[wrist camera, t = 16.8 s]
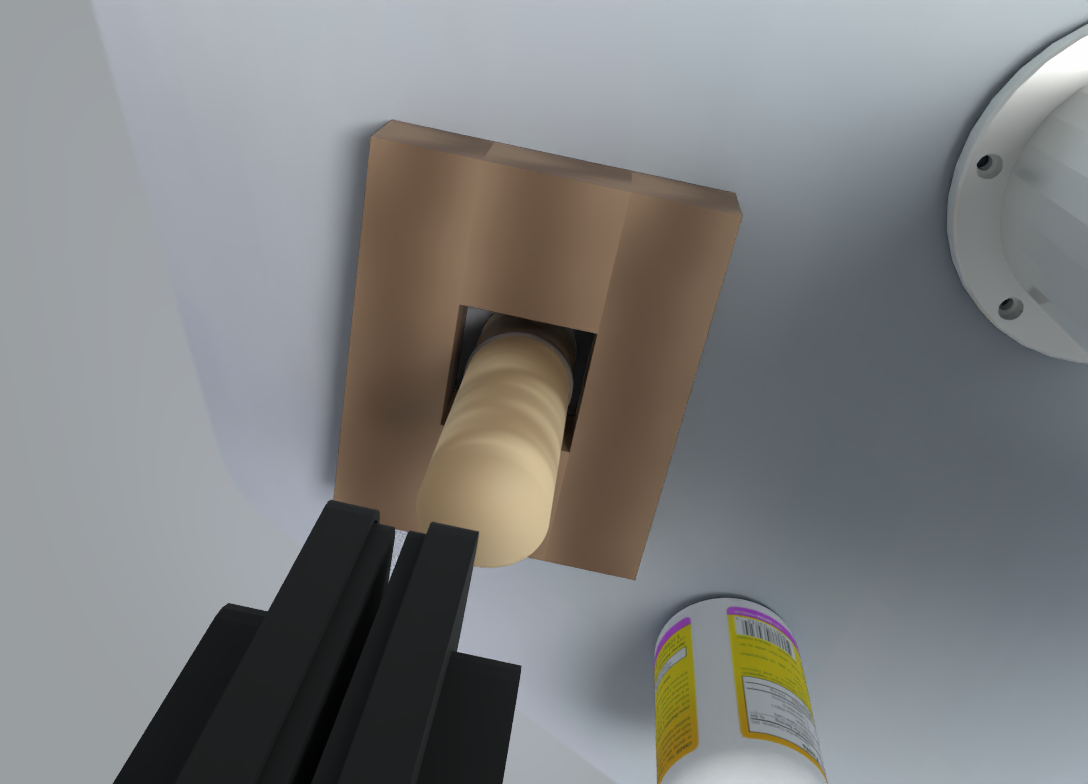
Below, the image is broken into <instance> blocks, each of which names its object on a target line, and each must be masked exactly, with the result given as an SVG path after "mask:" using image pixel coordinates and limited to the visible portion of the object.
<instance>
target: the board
mask: <svg viewBox="0 0 1088 784" xmlns="http://www.w3.org/2000/svg"><path fill="white" fill-rule="evenodd" d="M741 219H742V213H741V210H740V207H739V203H738V200H737V197H736V194H735V193H733V192H728V191H723V190H718V189H714V188H709V187H704V186H700V185H695V184H690V183H686V182H681V181H676V180H672V179H667V178H662V177H658V176H653V175H648V174H644V173H639V172H634V171H630V170H625V169H620V168H616V167H611V166H606V165H601V164H597V163H592V162H587V161H583V160H578V159H573V158H569V157H564V156H559V155H555V154H550V153H545V152H541V151H536V150H531V149H527V148H522V147H517V146H513V145H508V144H503V143H499V142H494V141H489V140H484V139H480V138H475V137H470V136H466V135H461V134H456V133H452V132H447V131H442V130H438V129H433V128H428V127H424V126H419V125H414V124H410V123H405V122H400V121H396V120H391V121H390V122H388V123H387V124H386V125H385V126H383V127H382V128H381V129H380V130H378V131H377V132H376V133H375V134H373V135H372V136H371V140H370V149H369V159H368V169H367V179H366V188H365V198H364V208H363V217H362V227H361V237H360V247H359V256H358V266H357V276H356V286H355V295H354V305H353V315H352V324H351V334H350V344H349V354H348V363H347V373H346V383H345V393H344V402H343V412H342V422H341V431H340V441H339V451H338V461H337V470H336V480H335V490H334V501H339V502H344V503H348V504H353V505H358V506H362V507H367V508H372V509H376V510H379V512H380V523H379V524H383V525H388V526H392V527H395V529H398V530H403V531H407V532H409V531H410V530H411V531H416V532H420V533H424V532H423V530H422V528H421V526H420V523H419V521H418V517H417V511H416V501H417V495H418V491H419V489H420V486H421V484H422V481H423V479H424V476H425V474H426V471H427V469H428V466H429V463H430V461H431V458H432V456H433V453H434V451H435V448H436V446H437V443H438V441H439V438H440V436H441V433H442V431H443V428H444V425H445V423H446V420H447V418H448V415H449V413H450V410H451V408H452V405H453V403H454V400H455V398H456V395H457V393H458V392H457V391H454V388H455V382H456V376H457V370H458V364H459V358H460V351H461V345H462V339H463V333H464V327H465V321H466V315H467V309H468V306H469V307H474V308H479V309H484V310H488V311H493V312H498V313H502V314H507V315H512V316H516V317H521V318H526V319H530V320H535V321H540V322H544V323H549V324H554V325H558V326H563V327H568V328H572V329H577V330H582V331H586V332H591V333H594V337H593V341H592V345H591V349H590V354H589V358H588V362H587V366H586V371H585V375H584V379H583V384H582V388H581V392H580V396H579V401H578V405H577V409H576V414H575V417H574V416H569V415H566V421H565V428H564V434H563V440H562V447H561V453H560V459H559V465H558V472H557V478H556V484H555V490H554V497H553V503H552V509H551V516H550V522H549V528H548V531H547V534H546V536H545V538H544V540H543V541H542V543H541V544H540V546H539V547H538V548H537V549H536V550H535V551H534V552H533V553H532V554H530V555H529V556H528V557H529V558H533V559H538V560H543V561H547V562H552V563H557V564H561V565H566V566H571V567H575V568H580V569H585V570H589V571H594V572H599V573H604V574H608V575H613V576H618V577H622V578H627V579H632V580H635V579H636V576H637V572H638V569H639V565H640V562H641V559H642V555H643V552H644V548H645V545H646V542H647V538H648V535H649V531H650V528H651V525H652V521H653V518H654V514H655V511H656V508H657V504H658V501H659V498H660V494H661V491H662V487H663V484H664V481H665V477H666V474H667V470H668V467H669V464H670V460H671V457H672V453H673V450H674V447H675V443H676V440H677V436H678V433H679V430H680V426H681V423H682V420H683V416H684V413H685V409H686V406H687V403H688V399H689V396H690V392H691V389H692V386H693V382H694V379H695V375H696V372H697V369H698V365H699V362H700V358H701V355H702V352H703V348H704V345H705V341H706V338H707V335H708V331H709V328H710V325H711V321H712V318H713V314H714V311H715V308H716V304H717V301H718V297H719V294H720V291H721V287H722V284H723V280H724V277H725V274H726V270H727V267H728V263H729V260H730V257H731V253H732V250H733V247H734V243H735V240H736V236H737V233H738V230H739V226H740V223H741Z"/></svg>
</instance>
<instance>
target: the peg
mask: <svg viewBox="0 0 1088 784" xmlns="http://www.w3.org/2000/svg"><path fill="white" fill-rule="evenodd" d="M575 359H576V340H575V337H574V334H573V332H572V329H571V328H568V327H563V326H558V325H554V324H549V323H544V322H540V321H535V320H530V319H526V318H521V317H516V316H512V315H507V314H502V313H498V312H495V313H494V314H493V315H492V316H491V317H490V318H489V319H488V321H487V322H486V324H485V325H484V327H483V329H482V332H481V334H480V337H479V339H478V342H477V344H476V347H475V349H474V350H473V352H472V353H471V355H470V357H469V359H468V361H467V364H466V366H465V370H464V375H463V380H462V382H461V385H460V387H459V390H458V393H457V395H456V398H455V400H454V403H453V405H452V408H451V410H450V413H449V415H448V418H447V420H446V423H445V425H444V428H443V431H442V433H441V436H440V438H439V441H438V443H437V446H436V448H435V451H434V453H433V456H432V458H431V461H430V463H429V466H428V469H427V471H426V474H425V476H424V479H423V481H422V484H421V486H420V489H419V491H418V495H417V501H416V511H417V517H418V521H419V523H420V526H421V528H422V530H423V532H424V533H425V534H426V533H427V531H428V528H429V525H430V523H431V522H437V523H442V524H446V525H451V526H456V527H460V528H465V529H470V530H474V531H479V539H478V544H477V550H476V555H475V560H474V565H473V566H476V567H484V568H494V567H503V566H507V565H511V564H514V563H516V562H519V561H521V560H523V559H525V558H526V557H528V556H529V555H530V554H532V553H533V552H534V551H535V550H536V549H537V548H538V547H539V546H540V544H541V543H542V541H543V540H544V538H545V536H546V534H547V531H548V528H549V522H550V516H551V509H552V503H553V497H554V490H555V484H556V478H557V472H558V465H559V459H560V453H561V447H562V440H563V434H564V428H565V421H566V415H567V409H568V405H569V403H570V400H571V397H572V391H573V371H574V365H575Z"/></svg>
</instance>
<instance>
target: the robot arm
mask: <svg viewBox="0 0 1088 784" xmlns="http://www.w3.org/2000/svg"><path fill="white" fill-rule="evenodd" d="M985 155H988V157H989V159H988V162H987V164H986V165H985V166H983V167H978V168H977V163H978V161H979V160H980V159H981V158H982V157H984V156H985ZM947 234H948V239H949V245H950V251H951V257H952V261H953V263H954V266H955V268H956V270H957V273H958V275H959V277H960V280H961V282H962V285H963V287H964V288H965V290H966V291H967V292H968V294H969V295H970V297H971V298H972V299H973V301H974V302H975V303H976V305H977V306H978V308H979V309H980V310H981V311H982V312H983V314H984V315H985V316H986V317H987V318H988V319H989V320H990V321H991V323H992V324H994V325H995V326H996V327H997V328H998V329H1000V330H1001V331H1002V332H1004V333H1005V334H1007V335H1008V336H1010V337H1011V338H1012V339H1014V340H1015V341H1017V342H1018V343H1020V344H1021V345H1023V346H1026V347H1028V348H1030V349H1033V350H1035V351H1037V352H1040V353H1042V354H1044V355H1047V356H1049V357H1053V358H1058V359H1063V360H1068V361H1072V362H1077V363H1086V364H1088V24H1086V25H1085V26H1083V27H1081V28H1079V29H1077V30H1076V31H1074V32H1072V33H1070V34H1069V35H1067V36H1065V37H1063V38H1061V39H1060V40H1058V41H1056V42H1054V43H1053V44H1051V45H1050V46H1049V47H1047V48H1046V49H1045V50H1044V51H1042V52H1041V53H1040V54H1038V55H1037V56H1036V57H1035V58H1033V59H1032V60H1031V61H1030V62H1028V63H1027V64H1026V65H1025V66H1023V67H1022V68H1021V69H1020V70H1019V71H1018V72H1017V73H1016V74H1015V75H1014V76H1013V77H1012V78H1011V79H1010V80H1009V81H1008V82H1007V84H1006V85H1005V86H1004V87H1003V88H1002V89H1001V90H1000V91H999V92H998V93H997V94H996V95H995V96H994V98H993V99H992V100H991V102H990V103H989V105H988V106H987V108H986V109H985V111H984V112H983V114H982V115H981V117H980V118H979V120H978V121H977V123H976V124H975V126H974V127H973V129H972V130H971V132H970V134H969V136H968V139H967V141H966V143H965V145H964V148H963V150H962V152H961V154H960V157H959V159H958V161H957V163H956V167H955V171H954V175H953V179H952V183H951V188H950V192H949V196H948V212H947ZM1007 299H1009V301H1008V303H1007V304H1005V305H1003V306H1000V304H1001V303H1002V302H1003V301H1005V300H1007ZM379 523H380V512H379V510H376V509H372V508H367V507H362V506H358V505H353V504H348V503H344V502H339V501H334V500H330V501H328V503H327V504H326V506H325V507H324V509H323V511H322V513H321V515H320V516H319V518H318V520H317V522H316V524H315V526H314V527H313V529H312V531H311V533H310V535H309V537H308V538H307V540H306V542H305V544H304V546H303V548H302V549H301V552H300V553H299V555H298V557H297V559H296V561H295V562H294V564H293V566H292V568H291V570H290V572H289V574H288V576H287V577H286V579H285V581H284V583H283V584H282V586H281V588H280V590H279V592H278V594H277V596H276V597H275V599H274V601H273V603H272V605H271V607H270V608H269V610H268V611H263V610H258V609H253V608H249V607H244V606H240V605H235V604H230V603H228V604H227V605H225V606H224V607H222V609H221V610H220V611H219V613H218V614H217V615H216V617H215V618H214V620H213V621H212V623H211V624H210V626H209V628H208V629H207V631H206V633H205V634H204V636H203V637H202V639H201V641H200V642H199V644H198V646H197V647H196V649H195V651H194V652H193V654H192V656H191V657H190V659H189V660H188V662H187V664H186V665H185V667H184V669H183V670H182V672H181V673H180V675H179V677H178V678H177V680H176V682H175V683H174V685H173V686H172V688H171V690H170V691H169V693H168V695H167V696H166V698H165V699H164V701H163V703H162V704H161V706H160V708H159V709H158V711H157V712H156V714H155V716H154V717H153V719H152V721H151V722H150V724H149V725H148V727H147V729H146V730H145V732H144V734H143V735H142V737H141V739H140V740H139V742H138V744H137V745H136V747H135V748H134V750H133V752H132V753H131V755H130V757H129V758H128V760H127V761H126V763H125V765H124V766H123V768H122V770H121V771H120V773H119V774H118V776H117V778H116V779H115V781H114V783H113V784H502V783H503V777H504V771H505V765H506V759H507V753H508V747H509V741H510V735H511V729H512V723H513V717H514V711H515V705H516V699H517V693H518V687H519V681H520V674H521V666H520V665H515V664H511V663H506V662H501V661H497V660H492V659H487V658H483V657H478V656H473V655H469V654H464V653H459V652H457V648H458V643H459V638H460V633H461V628H462V622H463V617H464V612H465V607H466V602H467V596H468V591H469V586H470V581H471V576H472V570H473V565H474V560H475V555H476V550H477V544H478V539H479V531H474V530H470V529H465V528H460V527H456V526H451V525H446V524H442V523H437V522H431V523H430V525H429V528H428V531H427V533H426V534H425V533H420V532H416V531H411V530H410V531H409V532H408V534H407V536H406V539H405V542H404V544H403V547H402V549H401V552H400V555H399V557H398V560H397V562H396V565H395V568H394V570H393V573H392V575H391V578H390V581H389V574H390V567H391V560H392V553H393V546H394V539H395V527H392V526H388V525H383V524H379ZM388 581H389V583H388Z"/></svg>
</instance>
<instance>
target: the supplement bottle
mask: <svg viewBox="0 0 1088 784" xmlns="http://www.w3.org/2000/svg"><path fill="white" fill-rule="evenodd" d="M654 675H655V716H656V717H655V718H656V760H657V784H828V782H827V778H826V773H825V769H824V764H823V760H822V755H821V750H820V746H819V741H818V737H817V731H816V727H815V722H814V717H813V713H812V709H811V704H810V700H809V695H808V690H807V686H806V681H805V676H804V672H803V668H802V663H801V659H800V654H799V651H798V647H797V644H796V641H795V638H794V636H793V634H792V632H791V631H790V629H789V628H788V626H787V625H786V624H785V622H784V621H783V620H782V619H781V618H780V617H779V616H777V615H776V614H775V613H774V612H772V611H771V610H769V609H767V608H766V607H764V606H761V605H759V604H757V603H754V602H751V601H747V600H743V599H737V598H716V599H710V600H705V601H701V602H698V603H695V604H693V605H690V606H688V607H686V608H684V609H683V610H681V611H680V612H678V613H677V614H676V615H674V616H673V617H672V618H671V619H670V620H669V621H668V622H667V623H666V625H665V626H664V628H663V629H662V631H661V633H660V635H659V637H658V640H657V643H656V647H655V655H654Z"/></svg>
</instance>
